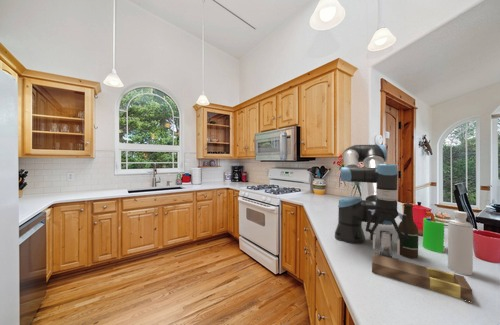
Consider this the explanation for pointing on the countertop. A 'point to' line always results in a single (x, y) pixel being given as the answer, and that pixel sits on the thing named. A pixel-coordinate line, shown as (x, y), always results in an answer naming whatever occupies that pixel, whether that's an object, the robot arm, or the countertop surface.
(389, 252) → the peg
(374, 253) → the mat
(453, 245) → the white bottle
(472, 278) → the countertop surface
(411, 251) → the beer bottle
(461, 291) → the rail
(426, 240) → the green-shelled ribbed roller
